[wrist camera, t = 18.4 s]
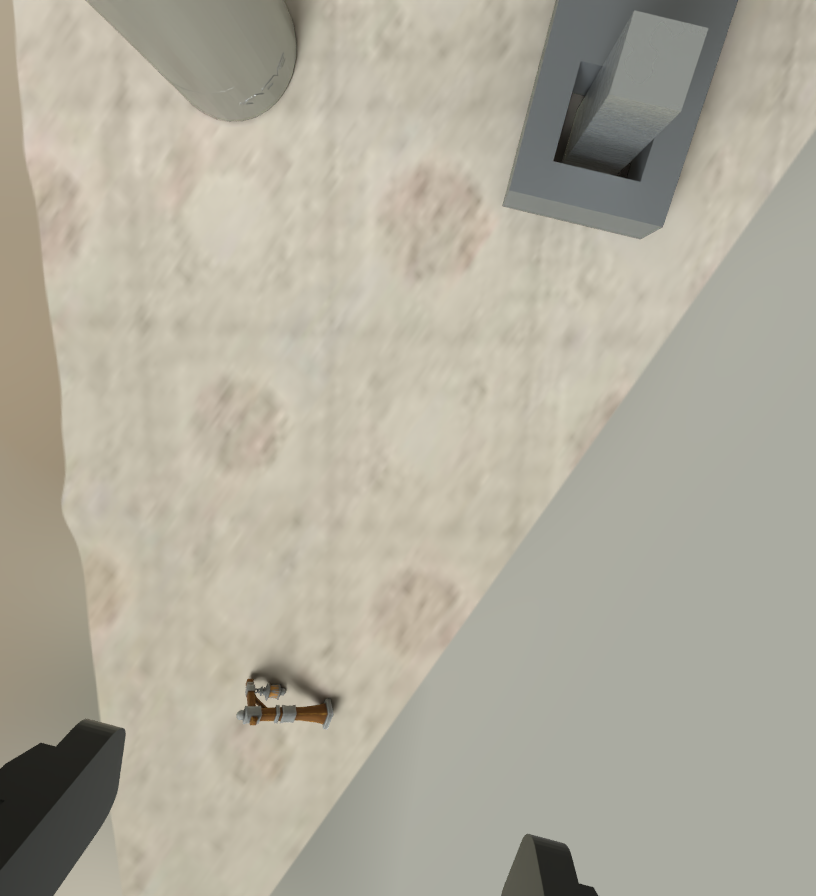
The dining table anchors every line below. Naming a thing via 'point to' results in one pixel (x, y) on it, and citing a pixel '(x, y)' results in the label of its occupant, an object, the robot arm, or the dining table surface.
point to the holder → (573, 71)
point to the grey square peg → (634, 92)
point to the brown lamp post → (281, 708)
